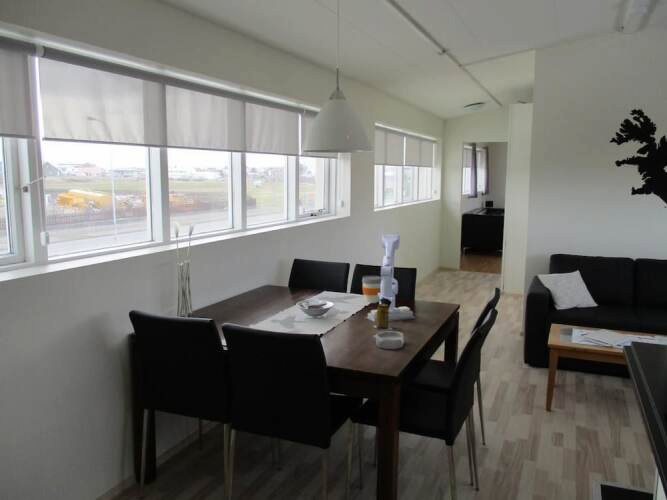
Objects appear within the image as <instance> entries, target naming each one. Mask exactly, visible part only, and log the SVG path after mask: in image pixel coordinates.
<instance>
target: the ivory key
mask: <svg viewBox="0 0 667 500" xmlns="http://www.w3.org/2000/svg"><path fill="white" fill-rule="evenodd" d="M398 308H399V309H401V312H409V311H411V308H410V307H408V306H399V307H398Z"/></svg>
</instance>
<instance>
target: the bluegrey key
mask: <svg viewBox="0 0 667 500" xmlns="http://www.w3.org/2000/svg"><path fill="white" fill-rule="evenodd" d="M390 312H391V313H393V314H394V313H400V312H401V309H399V307H395V308H390Z"/></svg>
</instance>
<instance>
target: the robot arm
mask: <svg viewBox="0 0 667 500" xmlns="http://www.w3.org/2000/svg"><path fill="white" fill-rule="evenodd" d="M400 240H401V239H400V234H386V233H383V234H382V236H381V245H382V248H383V249H385V255H383V258H382V266H380V277H381V279H382V281H381V288H380V292H381V293H378V297H380V298H379V302H378V305H379V304H387V305H388V311H390V308H396V295H397V294H398V293H399V292H398V291H399V283H398V280H397V279H396V278H394V271H395V253H396V250H398V249H399V248H400Z"/></svg>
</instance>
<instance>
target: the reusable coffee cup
mask: <svg viewBox="0 0 667 500" xmlns="http://www.w3.org/2000/svg"><path fill="white" fill-rule="evenodd" d="M381 281H382V279H381V276H379V275H364V276H362V279H361V283H362V286H361V287H362V294H363V299H364V302H365V301H366V302H365V303H367V302H371V303H370V304H377V302H378V303H380V297H378V293H381V292H380V288H381Z"/></svg>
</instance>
